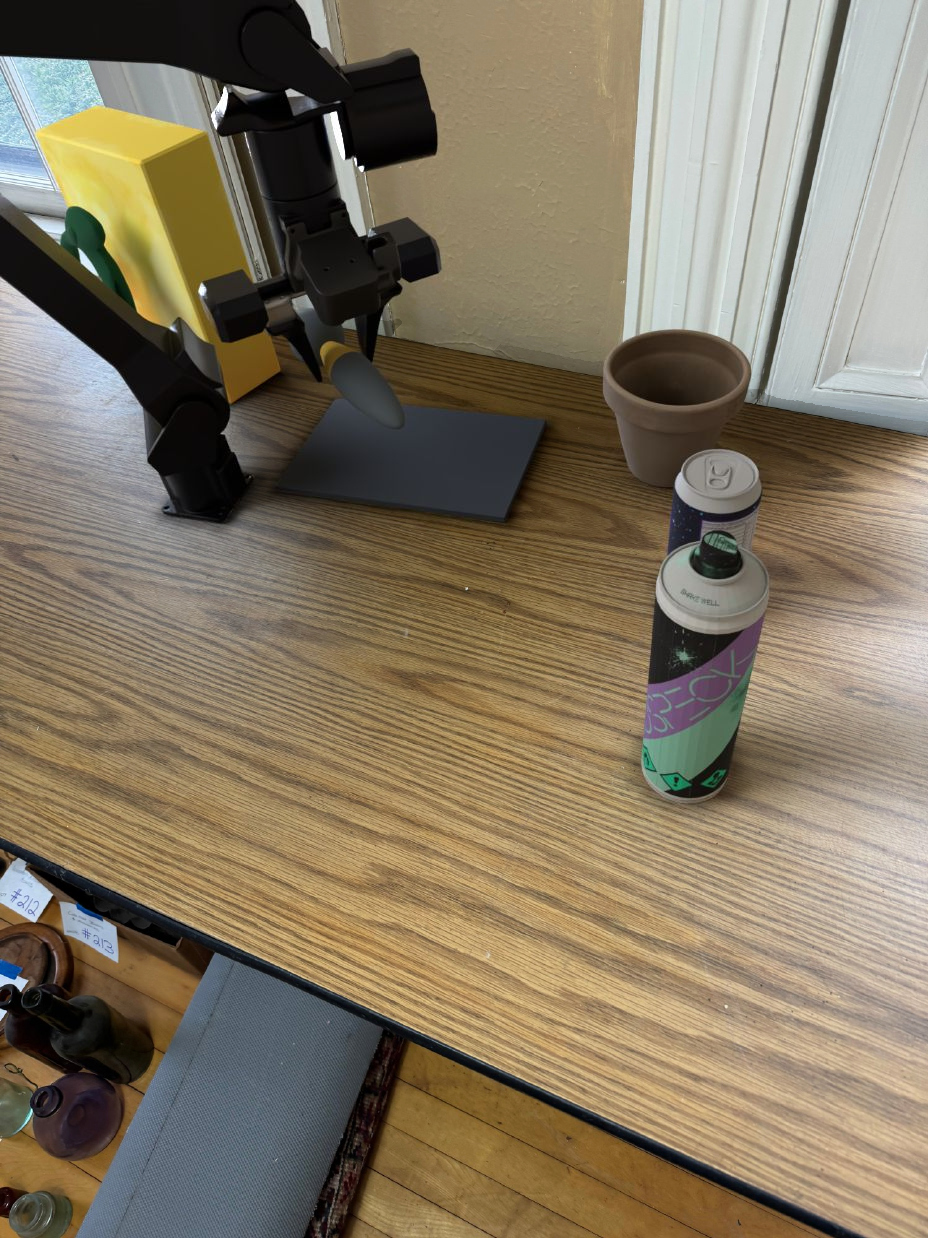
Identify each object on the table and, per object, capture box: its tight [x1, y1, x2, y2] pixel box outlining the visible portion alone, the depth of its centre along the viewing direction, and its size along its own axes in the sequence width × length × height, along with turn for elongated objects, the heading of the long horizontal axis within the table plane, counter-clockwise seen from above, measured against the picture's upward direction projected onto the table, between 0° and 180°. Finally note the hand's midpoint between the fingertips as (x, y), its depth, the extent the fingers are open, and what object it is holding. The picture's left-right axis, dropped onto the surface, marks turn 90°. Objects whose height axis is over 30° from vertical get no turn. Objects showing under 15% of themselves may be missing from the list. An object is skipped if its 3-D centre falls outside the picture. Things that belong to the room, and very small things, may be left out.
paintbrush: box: [288, 307, 405, 429], centre depth 74 cm, size 20×5×5 cm, turn 37°
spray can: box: [640, 530, 771, 805], centre depth 48 cm, size 6×6×20 cm
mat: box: [274, 397, 548, 524], centre depth 80 cm, size 22×14×1 cm, turn 72°
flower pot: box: [602, 328, 752, 488], centre depth 71 cm, size 12×11×10 cm
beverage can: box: [666, 448, 763, 557], centre depth 60 cm, size 6×6×12 cm
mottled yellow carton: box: [34, 104, 281, 404], centre depth 85 cm, size 18×12×24 cm
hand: (343, 371), depth 74 cm, fingers closed on paintbrush, 4 cm apart
